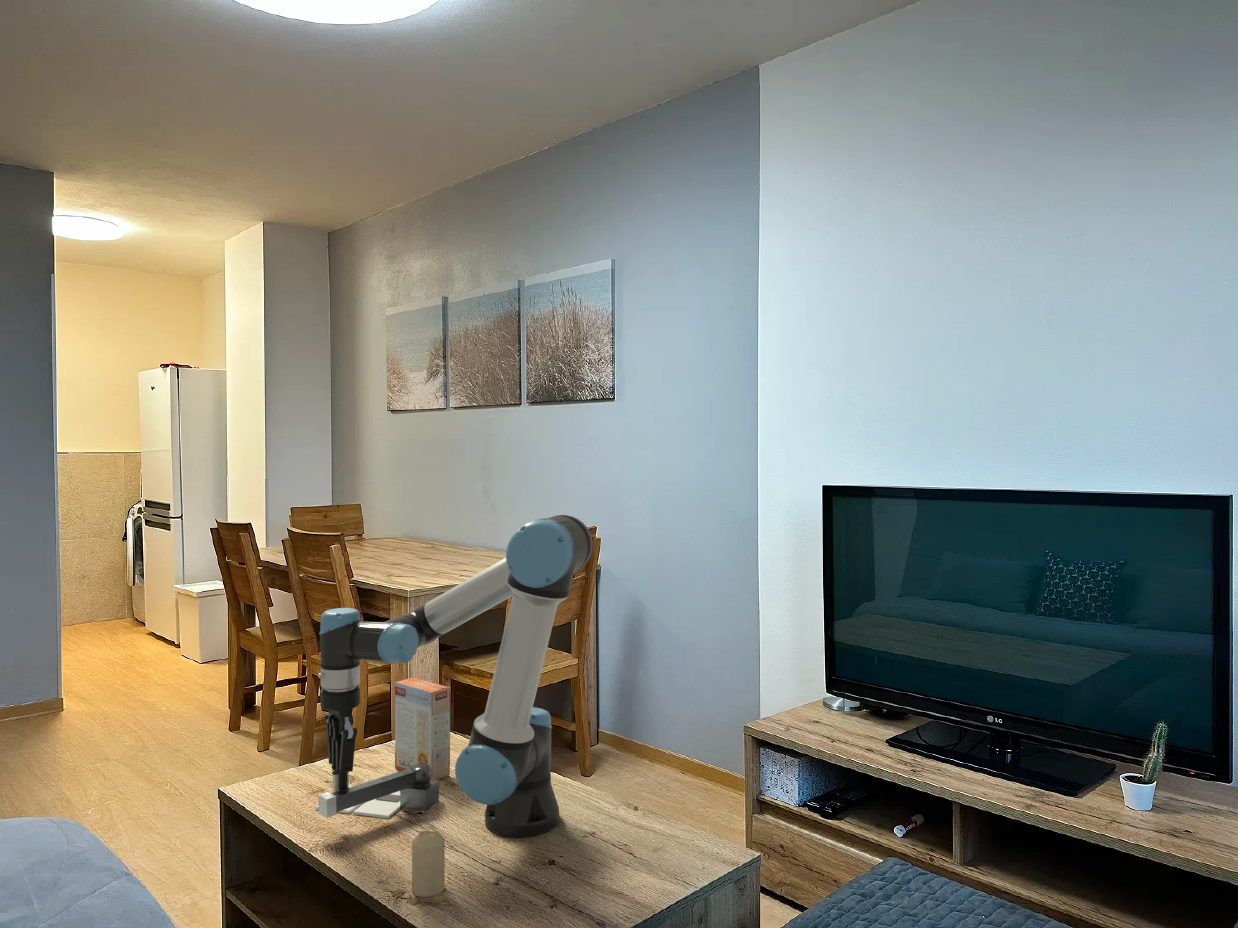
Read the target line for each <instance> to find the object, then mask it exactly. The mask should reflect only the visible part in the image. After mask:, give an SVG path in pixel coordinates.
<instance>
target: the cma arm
mask: <svg viewBox="0 0 1238 928" xmlns="http://www.w3.org/2000/svg"><path fill="white" fill-rule="evenodd" d="M429 782H430V765H428V764H416V765H412V766H411V767H410V768H409V769H406V770H403V771H401V770H399V771H397V772H393V773H391V774H387V775H384V776H382V777H378V778H376V779H372V780H368V781H366V782H362V783H359V784H355V785H352V786H353V787H349V788H347V789H343V790H340V791H337V792H334V793H333V792H328V791H326V792H324V793H320V794H318V797H317V798H318V799H317V800H318V804H317V805H318V810H317V811H318V814H320V815H321V816H323V817H324V818H327V819H328V818H330V817H333V816H334V817H335V816H336V815H337V813H339V811H341V810H344V809H347V808H350V807H353V806H356V805H359V804H362V803H363V804H364V803H365V802H368V801H371V800H374V799H377V798H380V797H383V796H386V795H389V794H392V793H395V792H398V791H401V790H404V789H407V788H410V787H413V786H415V785H425V784H428V783H429ZM363 804H362V805H363Z"/></svg>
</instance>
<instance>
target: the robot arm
mask: <svg viewBox="0 0 1238 928" xmlns="http://www.w3.org/2000/svg"><path fill="white" fill-rule="evenodd" d="M592 552H593V538H592V535H591V532H590V530H589V528H588V527H587V525H586V524H585V523H584V522H583V521H581V520H580V519H579V518H578V517H574V516H572V515H567V514H558V515H554V516H551V517H547V518H545V517H544V518H537V519H533V520H531V521H528V522H527V523H525V524H524V525H522V526H521V527H519V528H517V530H516V531H515V532H514V533H513V534H512V535H511V537H510V539H509V541H508V543H507V547H506V552H505V557H504V558H502V559H501V560H499V561H497V562H495V563H494V564H492V565H490V566H488V567H487V568H485V569H483V570H482V571H480V572H478V573H476V574H475V575H472V576H471V577H469V578H467V579H465V580H464V581H462V582H460V583H458V584H457V585H455V586H454V587H453V586H452V588H450V589H448V590H446V591H445V592H443V593H442V594H440V595H438V596H436V597H434V598H433V599H431V600H429V601H427V602H426V603H423V604H422V605H420V606H419V607H417V608H415V609H413V610H412V611H409V612H407V613H405V614H402V615H400V616H396V617H394V618H392V619H391V618H390V619H388V620H386V621H365V620H361V616H360V615H361V614H360V611H359V609H357V608H352V607H351V608H350V607H340V608H339V607H337V608H331V609H327V610H325V611H324V612H323V613H321V615H320V616H321V617H320V625H319V627H320V629H319V644H320V673H318V674H317V678H318V679H320V687H321V689H320V692H319V693H320V707H321V709H323V710H324V711H328V713H326V714H324V717H323V718H324V723H325V727H326V740H327V741H326V742H327V743H326V744H327V752H328V753H327V754H328V755H327V757H328V764H329V765H331V774H332V793H334V792H337V791H340V790H343V789H347V788H349V786H350V785H349V784H350V783H349V778H350V777H349V775H350V774H349V772H350V773H351V772H353V771H354V759H355V758H354V757H355V747H356V738H357V735H358V729H357V727H353V725H354V716H353V715H352V711H353V709H354V708H357V707H358V706H359V705H360V704H361V688H360V686H359V685H360V683H361V662H360V661H370V662H371V661H372V662H381V663H387V664H388V663H389V664H397V663H398V664H400V663H401V664H404V663H408V662H410V661H412V660H413V657H414V656H415V655H416V653H417V650H418V649H419V648H421V647H423V646H426V645H429V644H432V643H433V642H435V641H436V640H437V639H438V638H439V637H442V636H443V635H444V634H447V633H448V632H450V631H452V630H454V629H456V628H457V627H459V626H461V625H463V624H464V623H466V622H468V621H470V620H472V619H474V618H476V617H477V616H479V615H481V614H483V613H484V612H486V611H488V610H490V609H492V608H493V607H495V606H497V605H498V604H500V603H502V602H505V601H506V600H508V599H510V598H511V601H510V605H509V609H508V614H507V618H506V622H505V626H504V629H503V635H502V638H501V643H500V647H499V651H498V656H497V659H496V664H495V667H494V668H495V669H494V672H493V674H492V675H493V676H492V681H491V684H490V688H489V693H488V698H487V701H486V705H485V709H484V712H483V713H482V714H480V715H479V716H477V717H475V719H474V721H473V725H472V729H471V732H470V733H471V734H470V737H469V741H468V745H467V746H466V747H465V748H463V749H462V751H461V752H460V753H459V755H458V757H457V759H456V762H455V765H454V767H455V768H454V773H455V774H454V775H455V779H456V782H457V784H458V786H459V787H460V788H461V790H462V793H464V795H465V796H467V797H468V798H469V799H470V800H472V801H473V802H476V803H477V804H481V805H486V808H485V811H484V825H485V827H486V828H487V829H488V830H489V831H490V832H493V833H495V834H496V835H500V836H506V837H516V838H522V837H533V836H537V835H542V834H544V833H547V832H549V831H551V830H553V829H554V828H556V827H557V825H558V824H559V822H560V807H559V804H558V800H557V797H556V794H555V791H554V788H553V784H552V777H551V776H552V775H551V774H552V729H553V726H552V718H551V717H552V716H551V714H550V712H549V711H547V710H546V709H544V708H539V707H534V704H535V699H536V695H537V691H538V687H539V684H540V679H541V675H542V671H543V666H544V662H545V659H546V655H547V654H546V653H547V651H548V646H549V643H550V638H551V633H552V629H553V625H554V623H555V622H554V621H555V619H556V613H557V610H558V605H559V604H560V603H562V602H564V601H565V600H567V599H569V595H570V590H571V587H572V583H573V578H574V573H576V572H578V571H579V570H581V569H582V568H583V567H584V566H586V564H587V563H588V561H589V559H590V557H591V555H592Z"/></svg>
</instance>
